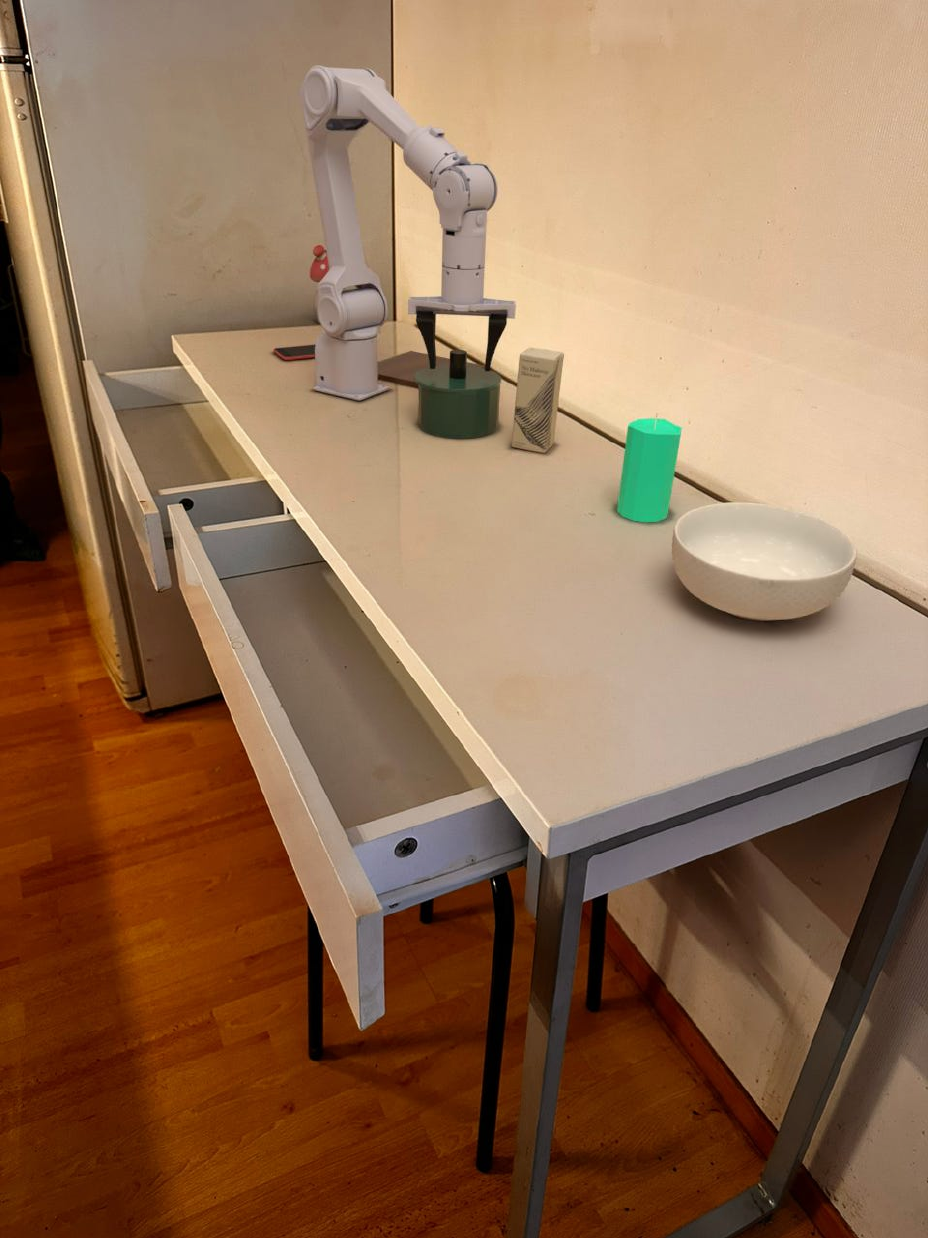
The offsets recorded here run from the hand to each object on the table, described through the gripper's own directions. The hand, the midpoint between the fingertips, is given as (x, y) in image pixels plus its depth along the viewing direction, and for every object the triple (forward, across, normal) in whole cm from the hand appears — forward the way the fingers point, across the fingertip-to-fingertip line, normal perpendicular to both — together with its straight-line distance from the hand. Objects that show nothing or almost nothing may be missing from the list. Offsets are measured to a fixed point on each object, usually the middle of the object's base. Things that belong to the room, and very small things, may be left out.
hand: (460, 368), depth 126 cm
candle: (+9, +23, -28) cm, 37 cm away
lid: (+2, 0, 0) cm, 2 cm away
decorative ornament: (+8, -28, +61) cm, 68 cm away
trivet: (+8, -7, +27) cm, 30 cm away
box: (+8, +11, -7) cm, 15 cm away
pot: (+8, 0, 0) cm, 8 cm away
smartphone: (+8, -27, +37) cm, 46 cm away
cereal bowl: (+9, +31, -49) cm, 58 cm away
